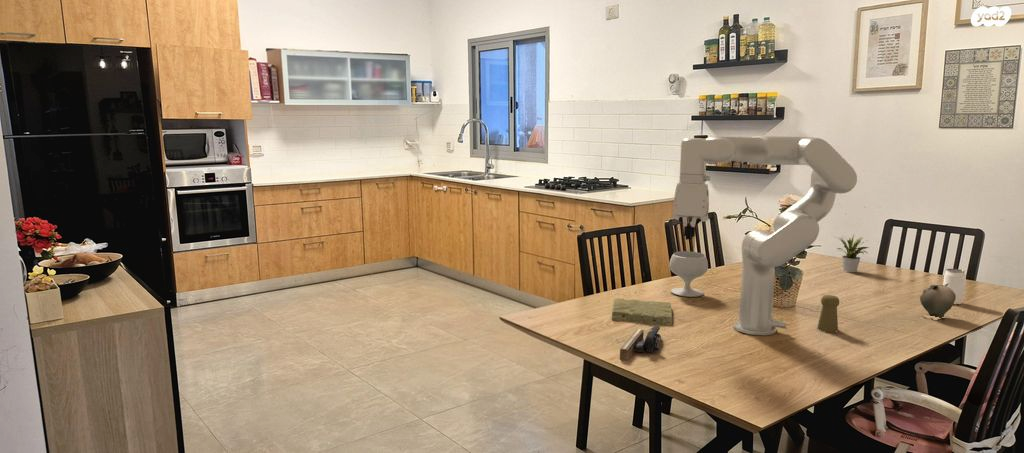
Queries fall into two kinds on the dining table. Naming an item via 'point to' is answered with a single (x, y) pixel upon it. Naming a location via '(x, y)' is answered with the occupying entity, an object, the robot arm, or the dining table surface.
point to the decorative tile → (642, 311)
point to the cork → (828, 314)
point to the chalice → (688, 270)
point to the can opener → (649, 341)
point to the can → (955, 282)
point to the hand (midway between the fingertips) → (689, 238)
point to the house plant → (851, 255)
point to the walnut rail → (631, 344)
